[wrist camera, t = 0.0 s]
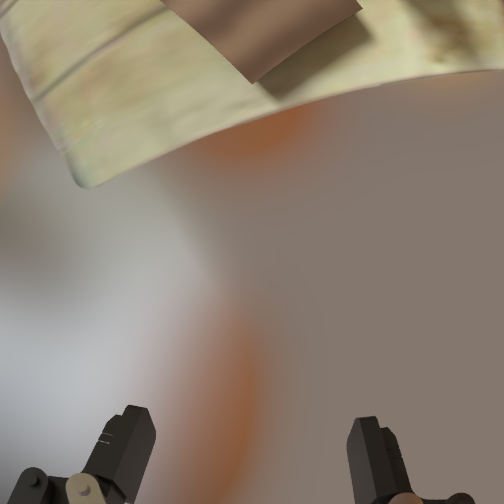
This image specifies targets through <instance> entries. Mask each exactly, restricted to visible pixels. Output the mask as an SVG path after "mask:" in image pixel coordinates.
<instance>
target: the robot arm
mask: <svg viewBox="0 0 504 504" xmlns="http://www.w3.org/2000/svg"><path fill="white" fill-rule="evenodd" d="M155 439H156V430H155V427H154V425H153V422H152V419H151V417H150V414H149V411H148V409H147V408H144V407H138V406H133V405H128V406H127V407H126V408H125V411H124V413H123V415H122V416H121V415H115V416H114V417H112V418H111V419H110V420H109V421H108V422H107V423H106V425H105V427H104V429H103V431H102V434H101V435H100V437H99V439H98V442H97V443H96V445H95V447H94V449H93V451H92V453H91V455H90V457H89V459H88V461H87V464H86V466H85V468H84V469H83V471H82V472H81V473H77V474H74V475H72V476H71V477H70V478H62V477H53V476H47V475H46V474H45V473H44V472H43V471H42V470H41V469H39V468H35V467H31V468H28V469H26V470H24V471H23V472H22V474H21V475H20V477H19V479H18V481H17V484H16V486H15V488H14V490H13V492H12V494H11V496H10V499H9V501H8V503H7V504H124V503H125V502H127V503H130V504H134V502H135V499H136V496H137V493H138V490H139V487H140V484H141V481H142V478H143V475H144V472H145V469H146V466H147V463H148V460H149V457H150V455H151V452H152V449H153V446H154V443H155ZM347 455H348V461H349V466H350V473H351V478H352V485H353V492H354V498H355V504H475V502H474V500H473V498H472V497H471V496H470V495H468V494H466V493H457V494H454V495H453V496H451V497H450V498H449V499H447V500H426V499H423V498H420V497H419V496H417V495H416V494H415V493H414V492H413V490H412V489H411V486H410V482H409V479H408V475H407V472H406V468H405V465H404V462H403V458H402V457H401V456H402V455H401V452H400V449H399V445H398V442H397V439H396V437H395V435H394V434H393V433H392V432H391V430H390V429H389V428H388V427H385V428H380V427H379V423H378V420H377V418H376V417H375V416H370V417H360V418H356V419H355V421H354V424H353V427H352V429H351V432H350V434H349V437H348V440H347Z"/></svg>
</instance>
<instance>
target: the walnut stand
mask: <svg viewBox="0 0 504 504" xmlns="http://www.w3.org/2000/svg"><path fill="white" fill-rule="evenodd" d="M160 1H161V2H163V3H164V4H165V5H166V6H168V7H169V8H170V9H171V10H173V11H174V12H175V13H176V14H177V15H179V16H180V17H181V18H182V19H183V20H185V21H186V22H187V23H188V24H189V25H190V26H191V27H193V28H194V29H195V30H196V31H197V32H198V33H199V34H201V35H202V36H203V37H204V38H205V39H206V40H207V41H208V42H209V43H210V44H211V45H213V46H214V47H215V48H216V49H217V50H218V51H219V52H220V53H221V54H222V55H223V56H224V57H225V58H226V59H227V60H228V61H229V62H230V63H231V64H232V65H233V66H234V67H235V68H236V69H237V70H238V71H239V72H240V73H241V74H242V75H243V76H244V77H245V78H246V79H247V80H248V81H249V82H250V83H251V84H254V83H255V82H256V81H257V80H259V79H260V78H261V77H262V76H264V75H265V74H266V73H268V72H269V71H270V70H271V69H273V68H274V67H275V66H277V65H278V64H279V63H281V62H282V61H283V60H285V59H286V58H288V57H289V56H290V55H292V54H293V53H295V52H296V51H297V50H299V49H300V48H302V47H303V46H305V45H306V44H307V43H309V42H310V41H312V40H313V39H315V38H316V37H318V36H319V35H321V34H322V33H324V32H326V31H327V30H329V29H330V28H332V27H333V26H335V25H337V24H338V23H340V22H341V21H343V20H345V19H346V18H348V17H350V16H351V15H353V14H355V13H356V12H358V11H360V10H362V9H363V8H362V7H361V6H360V5H359V3H358V2H357V1H356V0H160Z"/></svg>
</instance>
